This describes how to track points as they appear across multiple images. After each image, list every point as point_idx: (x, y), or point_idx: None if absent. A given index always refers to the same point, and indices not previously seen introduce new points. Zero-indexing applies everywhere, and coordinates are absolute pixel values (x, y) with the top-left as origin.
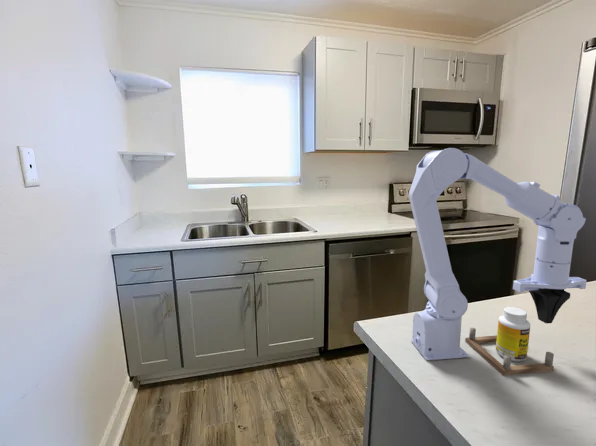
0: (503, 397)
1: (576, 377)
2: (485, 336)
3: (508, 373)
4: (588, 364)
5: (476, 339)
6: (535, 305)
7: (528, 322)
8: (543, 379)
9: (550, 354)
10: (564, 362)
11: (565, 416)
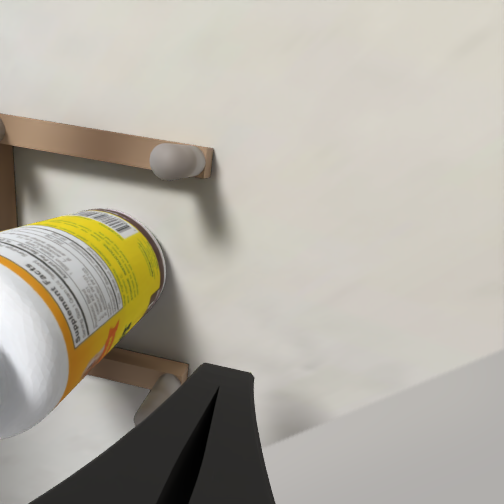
0: None
1: None
2: (70, 128)
3: None
4: (357, 403)
5: (9, 140)
6: (125, 436)
7: (16, 426)
8: (116, 396)
9: None
10: (280, 365)
11: None
